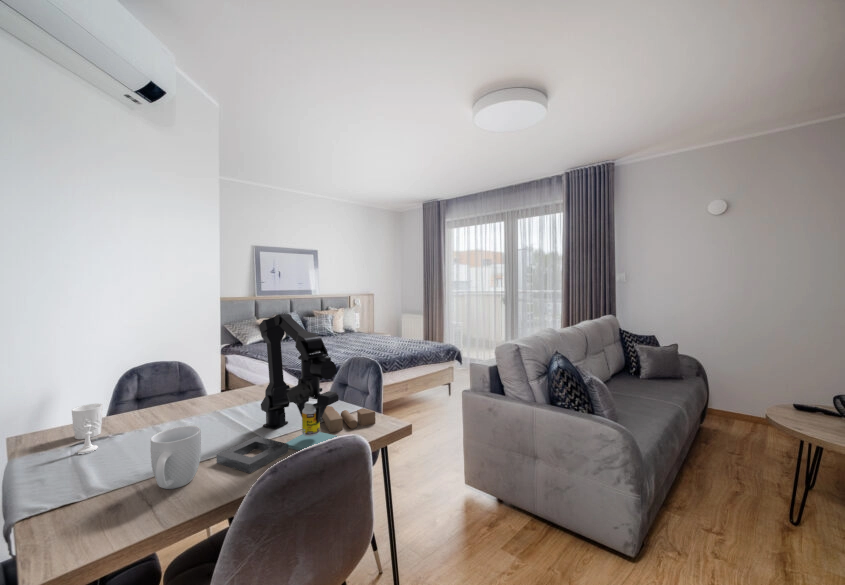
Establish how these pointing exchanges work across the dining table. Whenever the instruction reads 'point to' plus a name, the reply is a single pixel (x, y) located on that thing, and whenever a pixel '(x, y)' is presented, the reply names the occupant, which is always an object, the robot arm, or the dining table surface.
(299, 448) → the mat
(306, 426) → the supplement bottle
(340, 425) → the wooden block set
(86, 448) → the chess piece
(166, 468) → the mug
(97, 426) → the white cup
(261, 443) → the frame
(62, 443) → the dining table surface
